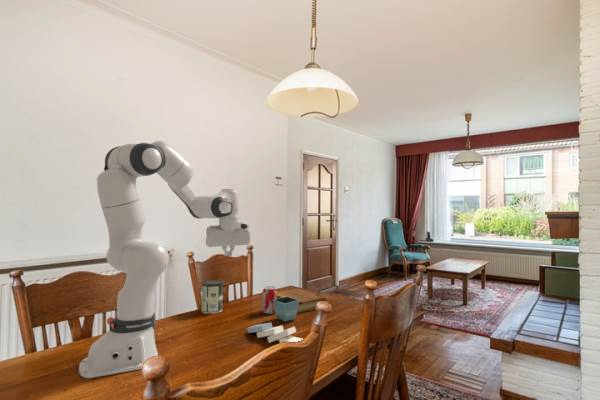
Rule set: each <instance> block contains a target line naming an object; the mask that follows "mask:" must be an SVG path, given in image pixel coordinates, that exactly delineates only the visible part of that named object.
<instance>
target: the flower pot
mask: <svg viewBox="0 0 600 400" xmlns="http://www.w3.org/2000/svg"><path fill="white" fill-rule="evenodd" d="M273 303H274V310H275V312H274V313H275V315H276V317H277V319H278V320H280V321H282V322H284V323H285V322H290V321H292V320H294V319H295V318H296V316H297V315H298V314H297V311H298V305H299V300H297V299H294V298H291V297H283V298H278V299H274V300H273Z"/></svg>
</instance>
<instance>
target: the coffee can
mask: <svg viewBox="0 0 600 400" xmlns="http://www.w3.org/2000/svg"><path fill="white" fill-rule="evenodd" d="M223 291H224V281H223V280H222V279H209V280H208V279H207V280H204V281H202V282H201V313H203V314H207V315H211V314H218V313H221V312H223V308H224V307H223V302H224V301H223V300H224V297H223V296H224V294H223V293H224V292H223Z"/></svg>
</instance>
